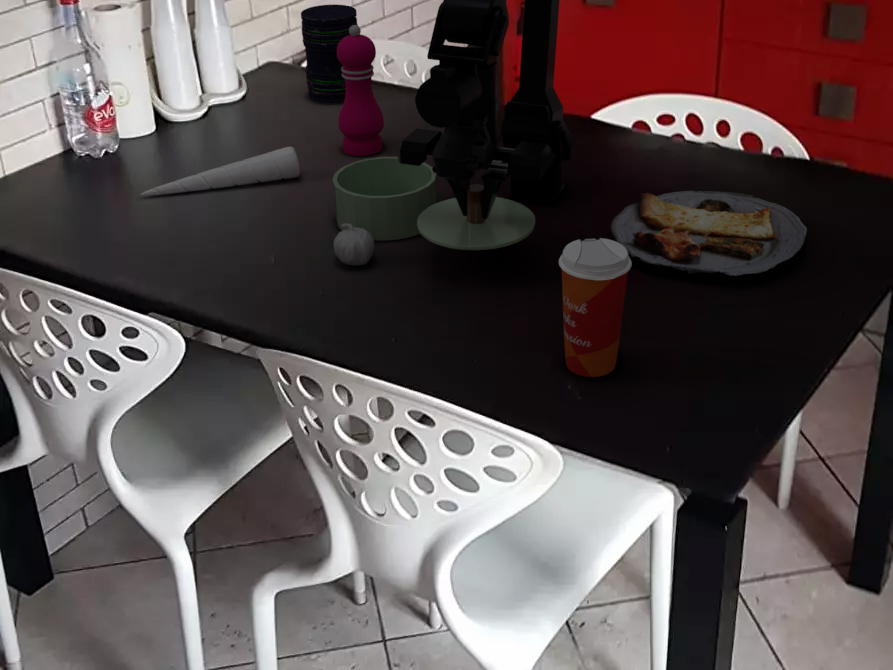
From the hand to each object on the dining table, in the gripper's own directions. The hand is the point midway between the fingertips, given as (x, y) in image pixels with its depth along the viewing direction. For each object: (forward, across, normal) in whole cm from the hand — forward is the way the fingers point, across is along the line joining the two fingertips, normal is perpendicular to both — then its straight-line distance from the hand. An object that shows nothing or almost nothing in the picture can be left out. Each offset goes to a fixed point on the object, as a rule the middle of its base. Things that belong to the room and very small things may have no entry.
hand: (475, 216), depth 149 cm
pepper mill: (+7, -31, +30) cm, 44 cm away
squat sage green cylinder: (+6, -16, +8) cm, 19 cm away
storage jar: (+7, -47, +52) cm, 71 cm away
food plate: (+6, +27, +14) cm, 31 cm away
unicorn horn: (+6, -44, +10) cm, 46 cm away
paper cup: (+6, +21, -20) cm, 29 cm away
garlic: (+6, -15, -6) cm, 17 cm away
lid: (+1, 0, 0) cm, 1 cm away
